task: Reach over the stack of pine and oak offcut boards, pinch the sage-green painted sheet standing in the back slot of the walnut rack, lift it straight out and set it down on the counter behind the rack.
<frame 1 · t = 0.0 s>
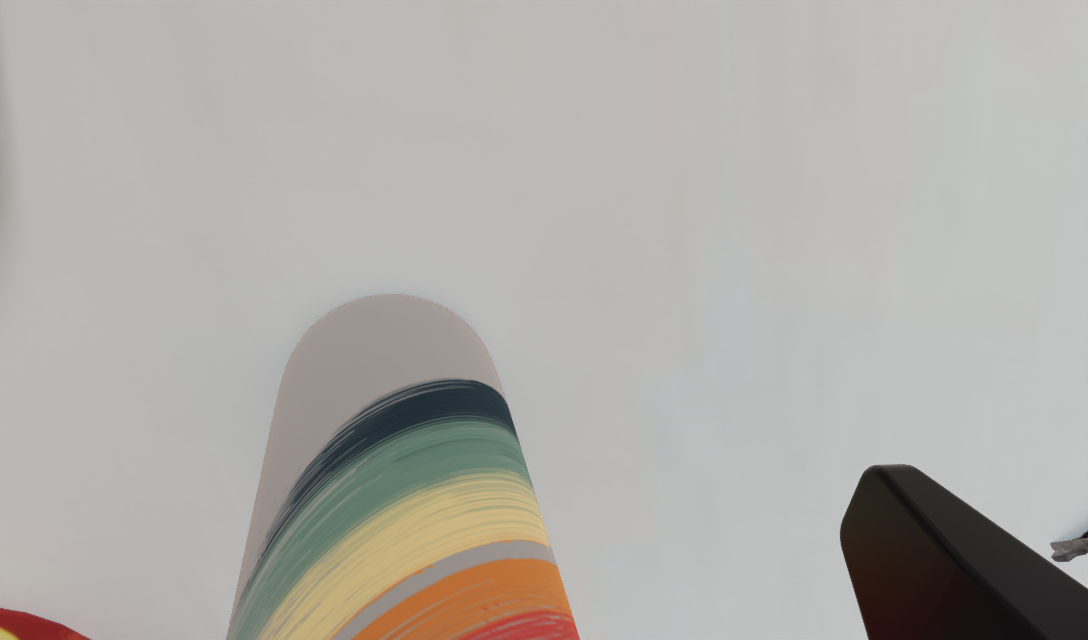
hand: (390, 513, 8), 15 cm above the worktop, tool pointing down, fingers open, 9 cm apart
lotion bottle: (391, 385, 25), on the worktop
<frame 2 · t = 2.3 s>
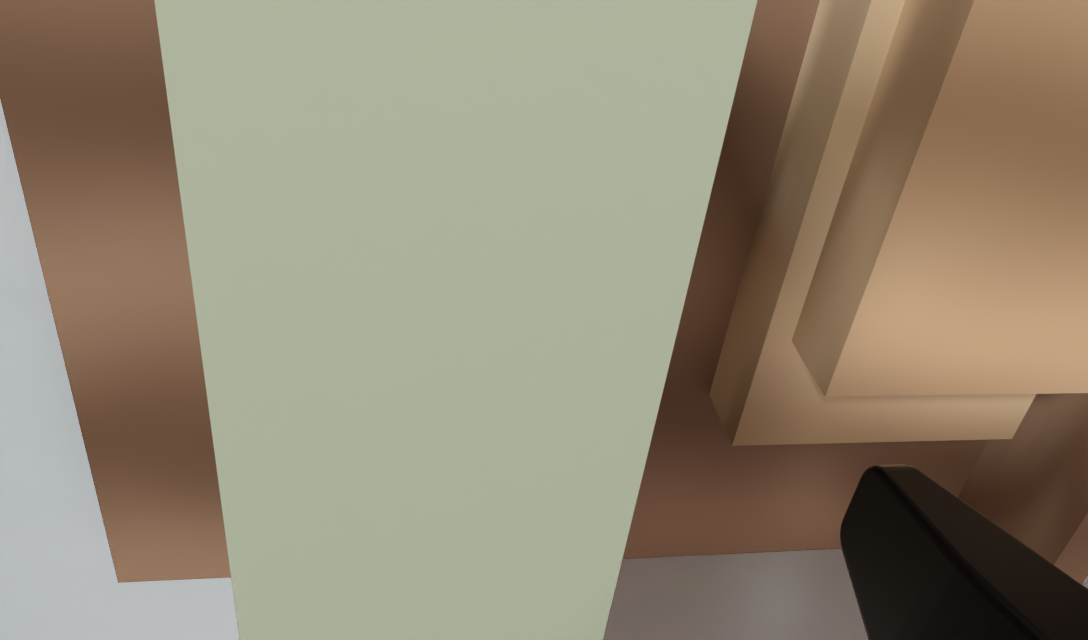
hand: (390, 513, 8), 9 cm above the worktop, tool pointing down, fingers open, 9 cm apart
green sheet: (389, 130, 14), point 1 cm above the worktop, touching walnut rack
walnut rack: (678, 118, 16), on the worktop
pine offcut: (939, 152, 16), point 1 cm above the worktop, touching oak offcut, walnut rack
oak offcut: (1009, 136, 14), point 2 cm above the worktop, touching pine offcut
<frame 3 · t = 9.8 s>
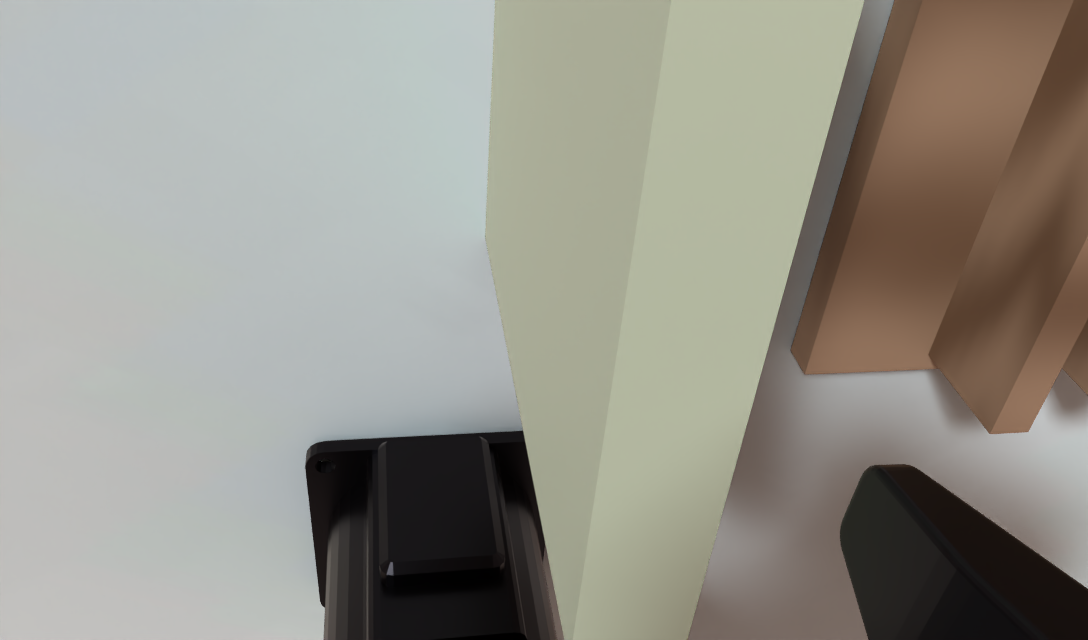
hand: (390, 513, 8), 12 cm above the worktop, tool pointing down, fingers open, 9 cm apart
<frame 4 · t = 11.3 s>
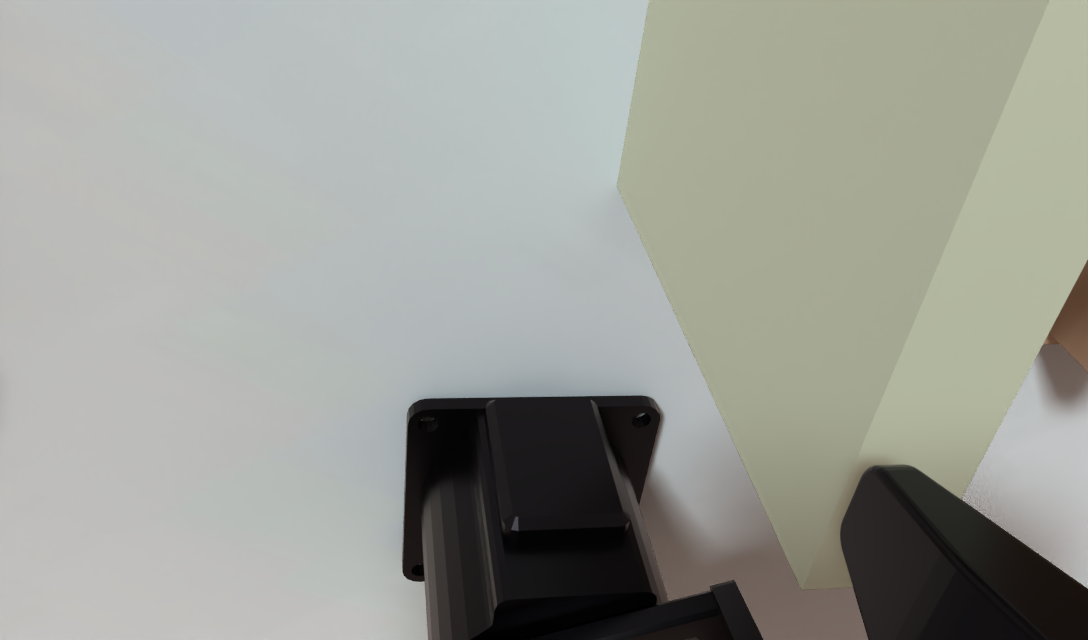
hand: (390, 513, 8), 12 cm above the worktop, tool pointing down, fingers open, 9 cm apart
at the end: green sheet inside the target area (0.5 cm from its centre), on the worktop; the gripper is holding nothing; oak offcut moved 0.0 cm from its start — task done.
